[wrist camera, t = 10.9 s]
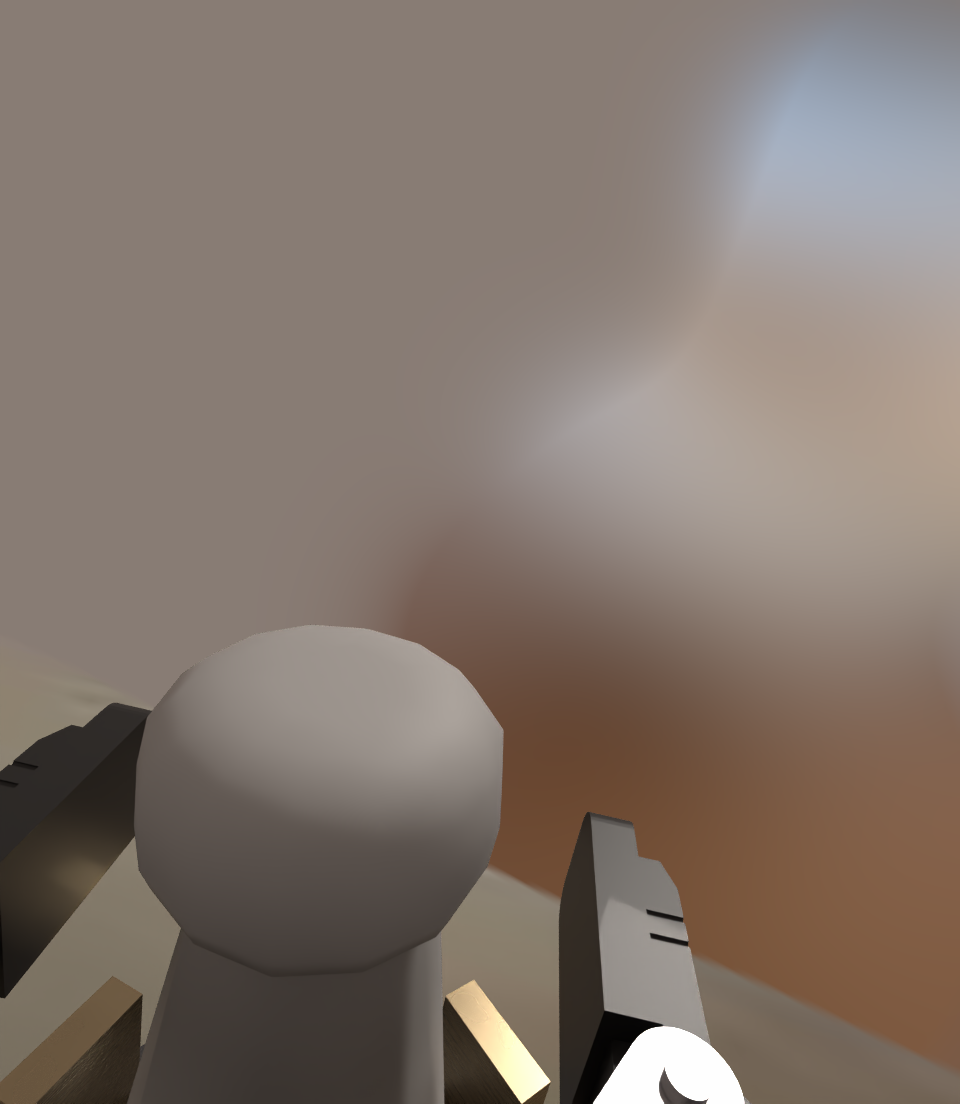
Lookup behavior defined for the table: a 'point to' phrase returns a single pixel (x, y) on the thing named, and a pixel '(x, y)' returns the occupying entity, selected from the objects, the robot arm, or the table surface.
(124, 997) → the disc with wooden blocks
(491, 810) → the salt shaker
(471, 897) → the table surface
